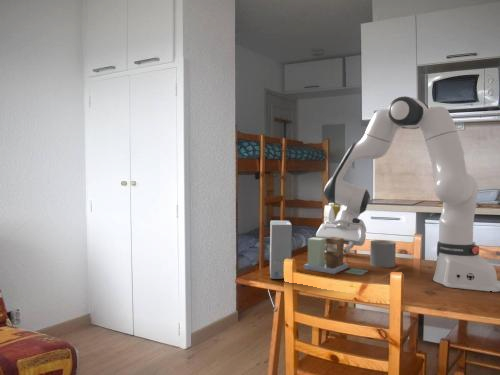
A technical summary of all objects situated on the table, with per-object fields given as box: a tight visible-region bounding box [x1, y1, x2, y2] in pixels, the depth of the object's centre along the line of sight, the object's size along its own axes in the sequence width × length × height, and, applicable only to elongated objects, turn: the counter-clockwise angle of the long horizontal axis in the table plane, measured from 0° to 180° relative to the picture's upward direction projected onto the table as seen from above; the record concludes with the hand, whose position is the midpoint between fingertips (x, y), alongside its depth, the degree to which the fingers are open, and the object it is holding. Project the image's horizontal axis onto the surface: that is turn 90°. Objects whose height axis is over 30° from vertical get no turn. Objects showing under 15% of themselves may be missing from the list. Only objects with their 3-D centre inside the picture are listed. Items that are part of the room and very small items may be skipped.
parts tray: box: [303, 259, 349, 275], centre depth 177 cm, size 13×13×2 cm
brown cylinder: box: [325, 237, 344, 269], centre depth 177 cm, size 5×5×12 cm
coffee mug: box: [369, 239, 397, 268], centre depth 185 cm, size 13×10×10 cm
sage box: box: [307, 236, 326, 267], centre depth 176 cm, size 5×5×12 cm
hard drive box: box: [269, 220, 293, 280], centre depth 168 cm, size 16×8×20 cm, turn 179°
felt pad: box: [344, 267, 369, 276], centre depth 172 cm, size 7×8×1 cm
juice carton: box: [323, 202, 345, 254], centre depth 209 cm, size 9×8×24 cm
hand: (334, 250), depth 178 cm, fingers open, 8 cm apart
